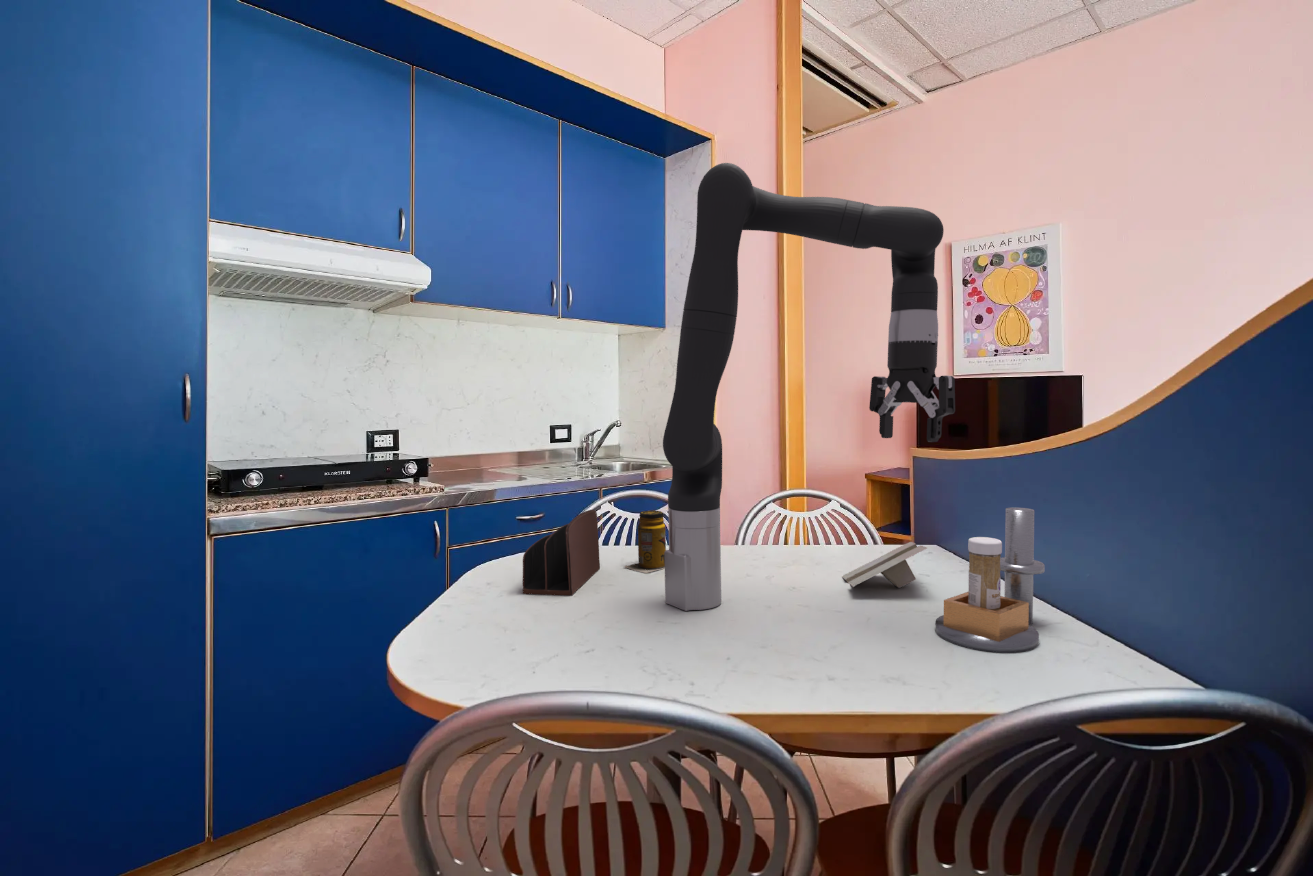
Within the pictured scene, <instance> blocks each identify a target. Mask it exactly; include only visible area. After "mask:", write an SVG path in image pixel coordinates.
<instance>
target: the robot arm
mask: <svg viewBox="0 0 1313 876" xmlns="http://www.w3.org/2000/svg"><path fill="white" fill-rule="evenodd" d="M697 189H698V190H697V195H696V197H697V199H696V227H695V228H696V230H695V245H694V252H693V258H692V262H691V266H690V267H691V268H690V271H689V277H688V282H687V288H686V293H685V299H684V303H683V305H684V306H683V309H682V310H683V311H682V312H683V313H682V316H681V317H682V318H681V326H680V334H679V335H680V336H679V344H678V350H677V352H678V353H677V361H676V372H675V373H676V374H675V385H674V391H673V396H672V401H671V405H670V408H669V413H668V417H667V421H666V424H665V429H664V431H663V438H662V449H663V452H664V453H663V454H664V456H665V458H666V460H667V462H668V463H669V464H670V465H671V466H672V470H671V471H672V472H671V474H672V475H671V476H672V477H671V484H670V488H669V489H668V494H667V508H668V511H667V513H668V515H667V516H668V519H667V520H668V549H666V551H665V552H664V559H665V569H664V597H665V600H664V603H665V604H668V605H670V606H673V607H675V608H677V609H680V610H682V611H685V612H688V611H696V610H697V611H698V610H699V611H702V610H708V609H713V608H716V607H718V606H720V605H721V604H722V561H721V559H722V557H721V554H722V553H721V550H722V549H721V546H722V545H721V493H722V487H723V442H722V441H723V439H722V435H721V432H720V429H719V427H717V425H716V424H715V423H714V421H715V411H716V410H715V409H716V401H717V394H718V389H719V387H720V384H721V380H722V378H723V374H724V372H725V369H726V366H727V364H728V360H729V358H730V353H731V351H732V348H733V343H734V338H735V332H736V324H737V317H738V309H739V308H738V307H739V268H738V267H739V263H738V262H739V261H738V260H739V251H740V250H739V249H740V245H741V244H740V242H741V238H742V233H743V231H758V232H759V231H761V232H769V233H779V234H786V235H793V236H797V237H803V238H807V239H812V240H817V241H821V242H825V243H831V244H834V245H835V244H836V245H839V246H845V247H849V248H855V249H859V250H861V249H862V250H864V249H865V250H866V249H871V248H879V249H886V250H891V251H890V258H891V260H890V261H891V262H890V263H891V272H892V273H891V275H892V287H891V302H890V317H889V318H890V319H889V322H888V323H889V325H888V337H887V338H888V339H887V340H888V341H887V342H888V343H887V368H888V371H889V372H888V375H887V377H886V376H873V377H872V378H871V382H870V383H871V384H870V397H869V407H868V408H869V411H870V412H874V413H876V414H878V416H879V425H878V426H879V429H878V430H879V431H878V433H879V434H880V436H881V438H882V439H892V438H893V434H894V432H893V431H894V415H893V413H894V412H895V411H896V410H897V408H898V407H899V406H902V404H903V403H911V404H914V403H915V404H919V405H920V407H922V408H923V409H924V410H925V412H926V413H927V415H928V418H927V422H926V441H927V442H928V443H937V442H938V441H939V439H941V437H942V431H943V430H942V429H943V428H942V427H943V419H944V417H946V416H948V415H953V414H955V412H956V393H955V392H956V390H955V388H956V383H955V382H956V380H955V376H954V375H940V376H936V375H937V374H936V368H937V367H938V348H939V347H938V342H939V322H938V321H939V320H938V319H939V318H938V303H939V302H938V299H939V298H938V297H939V284H938V280H937V278H936V277H935V262H936V261H935V260H936V258H935V257H936V249H937V247H938V246H939V245H940V244H941V242H942V239H943V237H944V224H943V223H942V220H941V219H940V217H939V216H938V215H937V214H935V213H933V212H931V211H930V210H926V209H924V208H918V207H911V206H910V207H909V206H895V205H893V206H892V205H890V206H889V205H874V204H870V203H866V202H865V203H864V202H861V201H856V200H851V199H844V198H839V197H828V196H791V195H783V194H779V193H774V192H770V191H768V190H765V189H761V188H759V187H757V186H754V185H753V183H752V180H751V178H750V177H749V175H748V174H747V173H746V172H745V170H744V169H742V167H740V166H738V165H737V164H735V163H731V162H721V163H719V164H716V165H713V166H712V167H711V168H710V169H709V170H708V171H706V173H705V174H704V176H703V177H702V179H701V181H700V183H699V186H698V188H697ZM887 388H888V389H889V391H888V392H887V394H886V390H887ZM935 388H936V389H937V390H938V398H937V396H936V394H935V393H934V391H933V390H934V389H935Z"/></svg>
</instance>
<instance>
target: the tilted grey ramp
mask: <svg viewBox="0 0 1313 876" xmlns="http://www.w3.org/2000/svg"><path fill="white" fill-rule="evenodd" d="M926 549H928V547H926V546H924V545H919V546H918V545H917V543H915V542H913V541H909V542H907V543H905V544H903V545H900V546H899V547H896V548H895V549H892V550H890V551H889V552H887V553H885V554H882V555H881V556H879V557H878V558H874V560H871V561H869V562H868V563H865V564H863V565H862V566H859V567H857V568H855V569H853V570H851V571H849V572H848V573H844V574H843V575H842V576H841V578H843V580H844V581H846V582H847V583H848V584H849V586H850V587H852V588H854V587H856V586H857V585H859V584H861V583H863V582H865V581H867V580H870V579H872V577H875V576H877V575H879V574H881V575H882V576H883V577H885V578H886V579H887V581H889V582H890V583H892V585H894V586H895V587H896V588H899V589H901V588H902V587H905V585H908V584H910V583H912V582H914V581H916V580H917V578H916V576H915V575H914V572H913V570H912V569H911V567H910V565H909V564H908V561H907V559H909V558H911V557H914V556H915V555H917V554H919V553H920V552H924V551H925V550H926Z"/></svg>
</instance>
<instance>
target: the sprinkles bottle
mask: <svg viewBox="0 0 1313 876" xmlns="http://www.w3.org/2000/svg"><path fill="white" fill-rule="evenodd" d="M967 540H968V542H967V543H968V544H967V545H968V546H967V551H968V555H969V556H968V557H969V561H968V562H969V563H968V564H969V565H968V568H969V569H968V592H969V597H968V604H970V605H974V606H978V607H982V608H986V609H990V610H994V611H998V610H1000V596H1001V585H1002V584H1001V571H1000V558H1001V556H1002V555H1001V554H1002V553H1003V542H1002V541H1001V540H1000V539H998V538H994V537H987V536H976V537H975V536H974V537H970V538H969V539H967Z"/></svg>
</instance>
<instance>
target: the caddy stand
mask: <svg viewBox="0 0 1313 876" xmlns="http://www.w3.org/2000/svg"><path fill="white" fill-rule="evenodd" d="M1004 522H1005V527H1004V528H1005V530H1004V531H1005V532H1004V534H1005V537H1004V538H1005V539H1004V540H1005V541H1004V542H1005V544H1004V557H1003V556H1002V557H1000V572H1004V596H1002V595H1000V610H998V611H994V610H990V609H986V608H982V607H978V606H974V605H970V604H968V597H969V591H966V592H963V593H960V594H957V595H954V596H951V597H948V598H947V599H946V598H945V599H943V615H940V616H938V617H937V618H936V619H935V624H934V626H935V627H934V628H935V633H936V635H937V636H939V637H940V638H941V639H943V640H945V641H947V642H948V643H951V644H953V645H956V646H959V647H962V648H966V649H971V650H974V651H975V650H976V651H979V652H980V651H981V652H987V653H988V652H989V653H996V654H997V653H999V654H1001V653H1002V654H1010V653H1013V654H1014V653H1015V654H1016V653H1023V652H1028V651H1031V650H1034V649H1036V648H1037V647H1038V646H1039V644H1040V634H1039V631H1038V630H1037V629H1036V628H1035V627H1034V626H1032V625H1033V623H1034V622H1033V619H1034V618H1033V617H1034V575H1040V574H1043V573H1045V569H1046V568H1045V563H1044V562H1042V561H1039V560H1036V559H1035V558H1034V557H1035V555H1034V554H1035V553H1034V551H1035V510H1034V509H1032V508H1027V507H1006V508H1005V521H1004Z"/></svg>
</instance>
